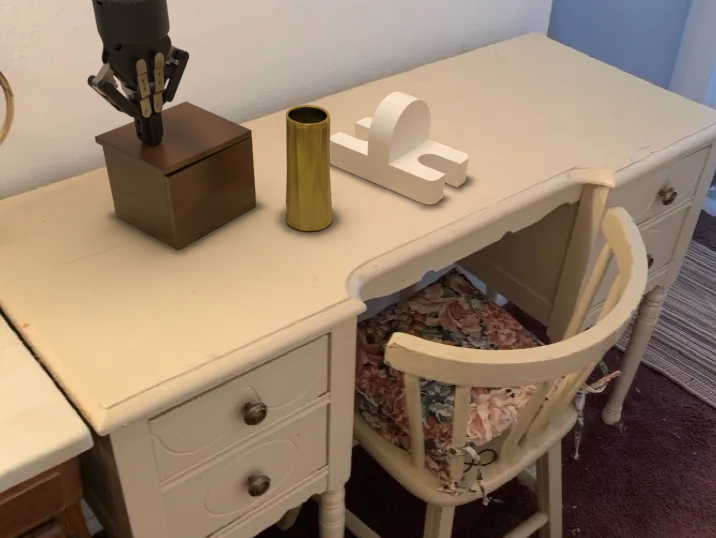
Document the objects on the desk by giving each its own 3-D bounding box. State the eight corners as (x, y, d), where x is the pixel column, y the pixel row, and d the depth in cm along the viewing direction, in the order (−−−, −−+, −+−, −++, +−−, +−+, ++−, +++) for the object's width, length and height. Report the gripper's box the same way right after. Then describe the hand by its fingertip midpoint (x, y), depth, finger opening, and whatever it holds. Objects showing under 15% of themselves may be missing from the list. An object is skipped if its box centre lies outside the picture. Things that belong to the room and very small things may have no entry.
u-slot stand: (430, 206, 112) (438, 131, 104) (326, 162, 119) (326, 88, 111) (468, 179, 117) (478, 105, 110) (367, 138, 125) (369, 67, 117)
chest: (178, 250, 102) (168, 177, 95) (115, 215, 106) (101, 144, 99) (256, 206, 110) (252, 136, 103) (194, 175, 114) (186, 107, 108)
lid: (162, 176, 94) (161, 169, 93) (95, 142, 99) (94, 136, 98) (252, 136, 103) (251, 130, 102) (186, 107, 107) (186, 101, 107)
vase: (322, 236, 105) (322, 130, 95) (277, 225, 106) (273, 120, 97) (339, 212, 109) (341, 108, 100) (296, 202, 111) (294, 99, 101)
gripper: (152, -37, 91) (172, 113, 103) (50, -8, 84) (84, 151, 96) (200, -20, 88) (215, 133, 100) (99, 12, 80) (128, 174, 92)
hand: (151, 142), depth 98 cm, fingers closed
